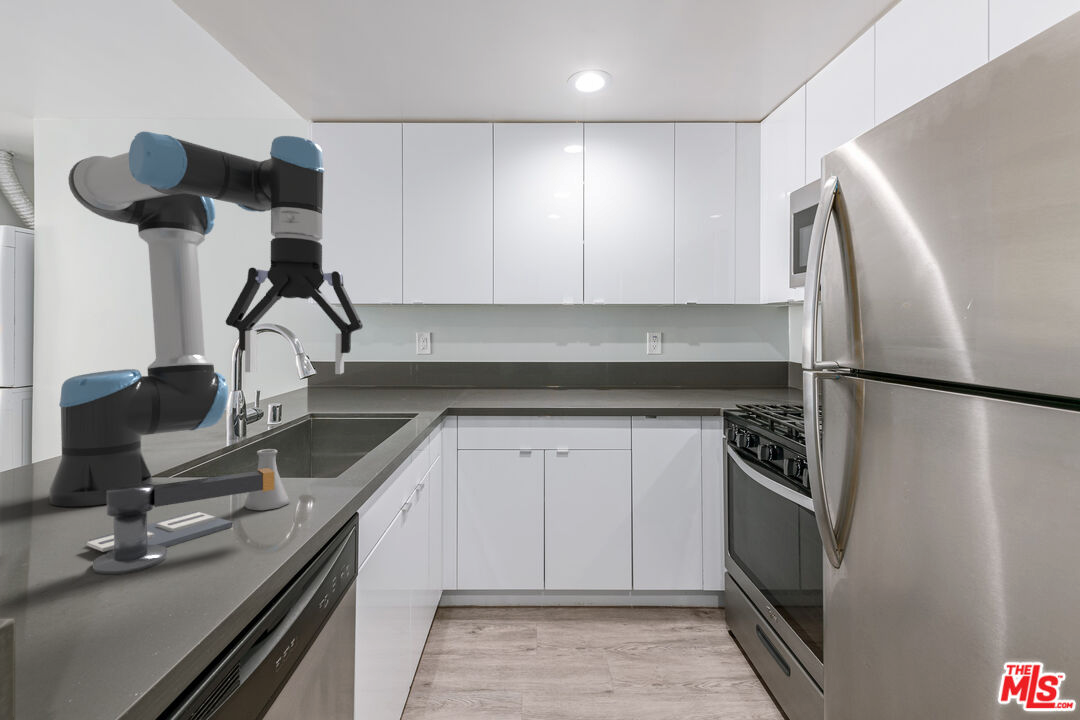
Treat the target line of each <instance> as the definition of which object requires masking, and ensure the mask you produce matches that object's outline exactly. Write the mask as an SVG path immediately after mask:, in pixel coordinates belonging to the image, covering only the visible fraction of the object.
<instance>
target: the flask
mask: <svg viewBox="0 0 1080 720" xmlns="http://www.w3.org/2000/svg"><path fill="white" fill-rule="evenodd" d="M256 454H257V455H258V464H257V469H256V470H257V471H258V469H265V468H269V469H271V470H273V471H274V490H270V491H262V490H259V491H253V492H248V494H247V497H246V499H245V502H244V504H243V505H244V506H245V508H246V509H247V510H253V511H266V510H268V511H269V510H273V509H278V508H281V507H284V506H286V505H289V504H291V501H290V499H289V497H288V494H287V492H286V489H285V487H284V485H283V481H282V480H281V477H280V474H279V472H278V466H277V463H276V462H277V461H276V455H277V454H278V450H277V449H275V448H274V449H273V448H267V449H260V450H257V451H256Z"/></svg>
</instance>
